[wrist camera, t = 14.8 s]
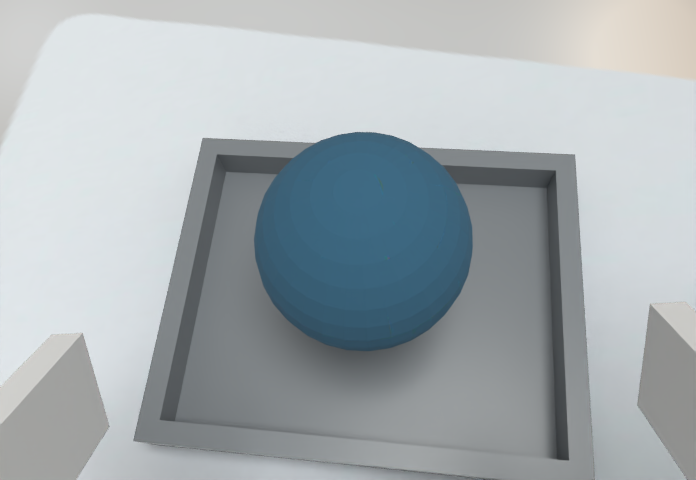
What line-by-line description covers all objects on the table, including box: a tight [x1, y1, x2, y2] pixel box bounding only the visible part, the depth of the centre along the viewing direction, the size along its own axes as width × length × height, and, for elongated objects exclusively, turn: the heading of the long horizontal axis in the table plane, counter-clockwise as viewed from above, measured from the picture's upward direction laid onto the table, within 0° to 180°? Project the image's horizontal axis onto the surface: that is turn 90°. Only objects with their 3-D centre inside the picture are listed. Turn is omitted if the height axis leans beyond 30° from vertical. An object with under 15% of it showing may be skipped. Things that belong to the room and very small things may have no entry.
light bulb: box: [254, 132, 473, 351], centre depth 24 cm, size 8×8×12 cm
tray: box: [133, 138, 595, 480], centre depth 29 cm, size 20×16×2 cm
